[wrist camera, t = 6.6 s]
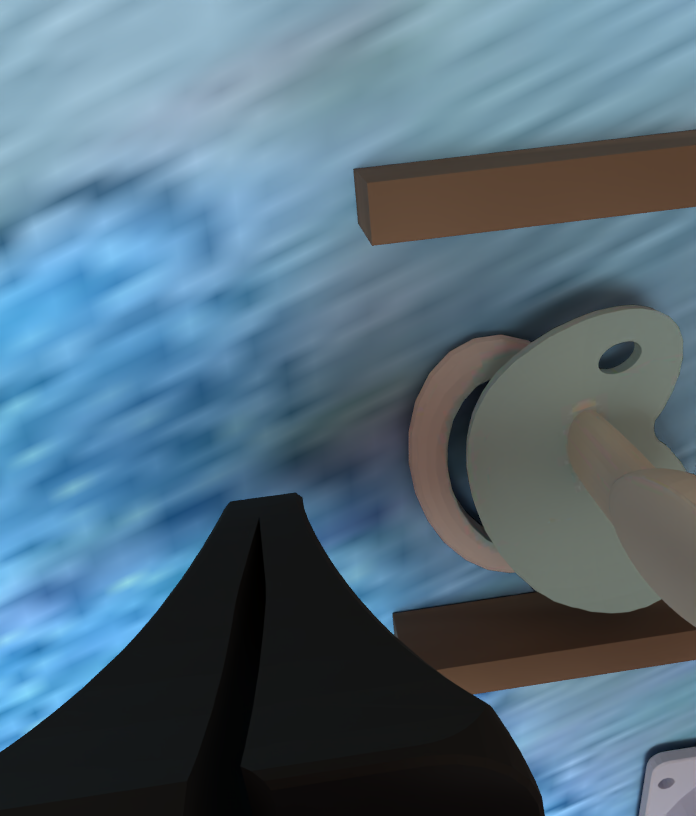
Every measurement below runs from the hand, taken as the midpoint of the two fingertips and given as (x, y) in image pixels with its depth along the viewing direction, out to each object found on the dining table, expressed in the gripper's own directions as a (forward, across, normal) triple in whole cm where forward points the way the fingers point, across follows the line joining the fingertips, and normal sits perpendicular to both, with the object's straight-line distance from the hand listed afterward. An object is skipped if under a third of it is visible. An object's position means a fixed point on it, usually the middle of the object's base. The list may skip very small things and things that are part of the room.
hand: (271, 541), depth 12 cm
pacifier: (+3, -6, 0) cm, 7 cm away
